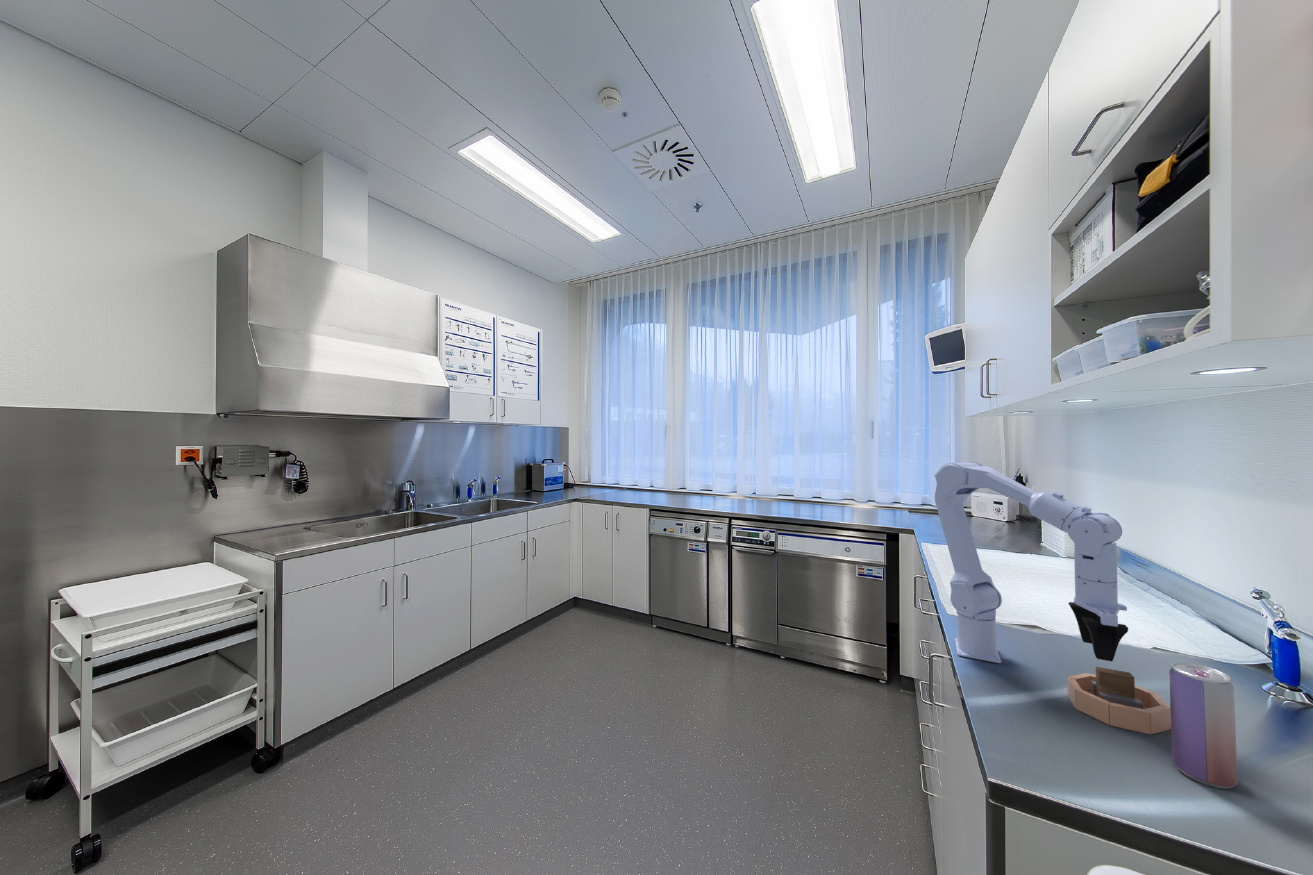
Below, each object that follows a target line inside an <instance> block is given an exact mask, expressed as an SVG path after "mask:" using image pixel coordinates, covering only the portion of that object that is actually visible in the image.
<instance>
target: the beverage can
mask: <svg viewBox="0 0 1313 875" xmlns="http://www.w3.org/2000/svg"><path fill="white" fill-rule="evenodd" d="M1168 674H1169V700H1170V701H1169V703H1170V704H1169V705H1170V706H1169V707H1170V713H1171V730H1170V732H1171V733H1170V734H1171V735H1170V736H1171V737H1170V738H1171V739H1170V740H1171V761H1172V763H1173V764H1174V766H1175V767H1176V768H1177V769H1178V771H1180V772H1181V773H1182V774H1183V775H1184V776H1186V777H1189V778H1190V779H1191V780H1194V781H1196V782H1198V783H1201V784H1203V785H1206V786H1210V787H1211V788H1212V787H1213V788H1216V789H1223V790H1224V789H1225V790H1227V789H1228V790H1229V789H1232V788H1234V787H1235V786H1237V785H1238V762H1237V757H1238V756H1237V740H1236V739H1237V736H1236V734H1237V732H1236V731H1237V730H1236V708H1235V706H1236V704H1235V703H1236V702H1235V701H1236V700H1235V687H1234V686H1235V685H1234V684H1233V683H1232V682H1233V681H1232V680H1233V679H1232V678H1231V677H1230V676H1229V675H1228V674H1227V673H1224V672H1222V671H1219V670H1217V669H1214V668H1212V667H1208V666H1205V665H1201V664H1196V663H1191V662H1181V661H1178V662H1177V661H1176V662H1172V663H1171V664H1170V668H1169V671H1168Z"/></svg>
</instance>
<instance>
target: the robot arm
mask: <svg viewBox="0 0 1313 875" xmlns="http://www.w3.org/2000/svg"><path fill="white" fill-rule="evenodd" d="M934 477H935V481H936V487H935V493H934V502H935V507H936V509H937V513H938V516H939V520H940V524H941V527H942V531H943V534H944V538H945V542H946V544H947V545H946V546H947V548H948V552H949V556H950V559H951V564H952V567H953V570H954V574H953V575H952V577H951V579H950V581H949V584H950V597H949V600H950V603H951V605H952V607H953V608H954V610H955V611H956V615H957V637H956V638H954V644H955V649H956V652H957V653H956V654H957V656H960V657H965V658H969V659H974V660H975V659H976V660H980V661H985V662H991V663H995V664H1002V660H1001V657H1000V654H999V651H998V650H997V624H996V620H997V613H996V612H997V609H999V608H1000V607H1001V606H1002V602H1003V598H1002V594H1001V592H1000V591H999V590H998V588H997V586H995V584H994V582H993V579H992V576H990V575H989V574H988V573H986V571H984V570H983V567H982V565H981V560H980V558H979V553H978V551H977V546H976V545H975V544H976V543H975V541H974V538H973V533H972V530H971V527H970V524H969V521H968V517H967V515H966V514H967V513H966V510H965V507H964V502H965V501H966V500H967V499H968V498H969V496H970V495H971V494H973V493H974V492H975V491H977V490H979V489H989V490H991V491H994V492H997V493H998V494H1000V495H1002V496H1004V497H1007V498H1009V499H1011V500H1013V501H1016V502H1017V503H1020V504H1022V505H1024V506H1027V507H1028V511H1029V513H1030V515H1031V516H1033V517H1035V518H1037V519H1039V520H1041V521H1042V522H1045V523H1047V524H1049V525H1050V526H1052V527H1054V528H1056V529H1059V530H1060V531H1062V532H1064V533H1066V534H1067V536H1069V538H1070V540H1071V541H1073V544H1074V552H1073V554H1074V556H1073V557H1074V559H1073V560H1074V597H1073V601H1070V602H1068V605H1069V607H1070V608H1071V611H1072V612H1073V615H1074V616H1075V620H1076V622H1077V625H1078V626H1077V627H1078V632H1079V633H1080V637H1081V639H1082V641H1083V643H1087V644H1091V645H1092V649H1093V650H1092V651H1093V653H1094V655H1095V658H1096V659H1097V660H1102V661H1105V662H1106V661H1108V662H1113V661H1114V658H1115V656H1116V653H1117V652H1116V651H1117V649H1118V647H1119V644H1120V642H1121V640H1122V639H1123V637H1124V636H1125V635H1126V634H1127V633H1128V631H1129V627H1128V626H1127V625H1126V624H1123V623H1122V624H1121V623H1119V616H1118V613H1119V612H1120V611H1125V612H1126V611H1127V610H1128V607H1127V605H1125V604H1123V603H1118V602H1119V601H1118V598H1119V597H1118V556H1117V543H1116V542H1117V541H1119V540H1120V539H1121V537H1122V535H1123V528H1122V526H1121V524H1120V522H1119V521H1118V520H1117V519H1115V518H1113V517H1112V516H1110V515H1109V514H1108V513H1106V512H1092V508H1091V507H1088V506H1080V505H1079V504H1076V503H1075V502H1072V501H1070V500H1069V499H1065V498H1064V497H1065V496H1064V494H1062V493H1061V492H1058V491H1057V492H1050V491H1044V492H1043V491H1042V492H1037V491H1035V490H1033V489H1032V488H1029V487H1027V486H1025V485H1023V484H1022V483H1020V482H1018V481H1016V480H1014V479H1012V478H1010V477H1008V476H1006V475H1004V474H1002V473H1000V472H999V471H998V470H995V468H992V467H991V466H987V465H984V464H982V463H981V462H978V461H968V462H947V463H945V464H943V465H942V466H941V467H940V468H939V469H938V471H937V472H936V473H935V475H934Z"/></svg>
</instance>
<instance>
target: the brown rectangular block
mask: <svg viewBox="0 0 1313 875" xmlns="http://www.w3.org/2000/svg"><path fill="white" fill-rule="evenodd" d="M1095 675H1096V696H1097V697H1099V692H1104V693H1109V694H1114V695H1119V696H1124V697H1129V698H1134V699H1135V685H1136V684H1135V683H1136V682H1135V677H1134V676H1133V674H1132V673H1131V672H1128V671H1122V670H1118V669H1112V668H1106V667H1100V666H1095Z"/></svg>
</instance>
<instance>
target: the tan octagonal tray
mask: <svg viewBox="0 0 1313 875" xmlns="http://www.w3.org/2000/svg"><path fill="white" fill-rule="evenodd" d="M1066 678H1067V679H1066V680H1067V696H1068V698H1069V700H1070V701H1071V704H1072V705H1073V707H1074V708H1075V709H1077V710H1078V711H1079V712H1082V713H1084V714H1086V715H1087V716H1089V717H1092V718H1094V719H1096V720H1098V721H1100V722H1102V723H1104V724H1106V725H1108V726H1109V725H1110V726H1112V727H1117V728H1119V729H1120V728H1121V729H1125V730H1131V731H1133V732H1139V733H1143V734H1148V735H1154V734H1158V733H1162V732H1166V731H1171V730H1170V729H1171V709H1170V706H1169V705H1168V704H1167V703H1166V702H1165V701H1164V700H1163V699H1162V697H1161V696H1159V694H1158V693H1155V692H1153V691H1150V690H1148V689H1146V688H1144V687H1141V686H1137V685H1136V684H1135V699H1134V698H1129V697H1124V696H1119V695H1114V694H1109V693H1104V692H1099V697H1097V696H1096V674H1092V673H1087V672H1085V673H1080V674H1074V675H1070V676H1067V677H1066Z"/></svg>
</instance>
